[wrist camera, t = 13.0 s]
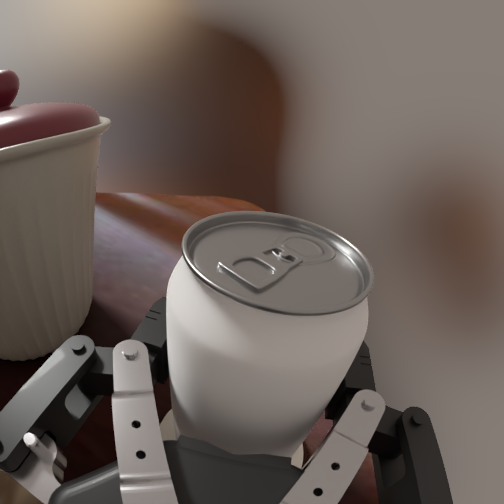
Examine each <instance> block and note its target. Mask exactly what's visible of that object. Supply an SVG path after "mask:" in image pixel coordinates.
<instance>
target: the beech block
mask: <svg viewBox="0 0 504 504" xmlns="http://www.w3.org/2000/svg"><path fill="white" fill-rule="evenodd" d="M0 504H43V502H41V501H40V500H39V499H38V498H36V497H35V496H34V495H33V494H31V493H30V492H29V491H28V490H27V489H25V488H24V487H23V486H22V485H21V484H20V483H18V482H17V481H14V480H13V479H12V478H10V477H9V476H7V475H6V474H5V473H4V472H2V471H1V470H0Z"/></svg>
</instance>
